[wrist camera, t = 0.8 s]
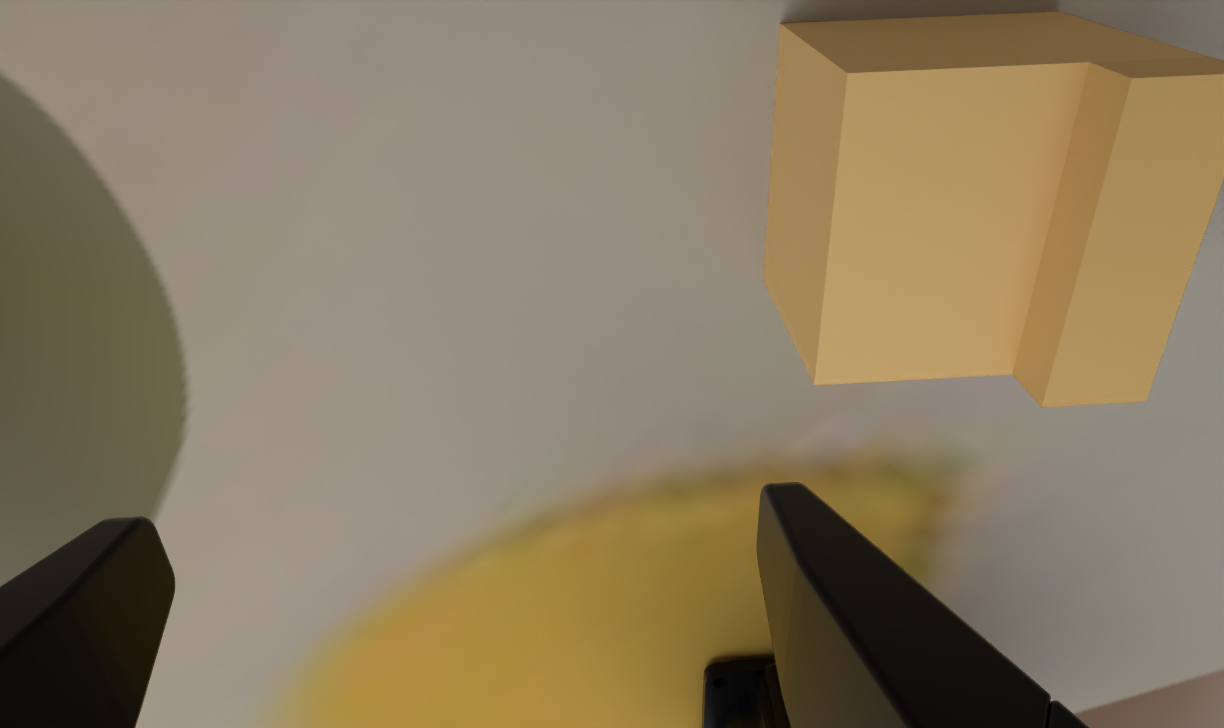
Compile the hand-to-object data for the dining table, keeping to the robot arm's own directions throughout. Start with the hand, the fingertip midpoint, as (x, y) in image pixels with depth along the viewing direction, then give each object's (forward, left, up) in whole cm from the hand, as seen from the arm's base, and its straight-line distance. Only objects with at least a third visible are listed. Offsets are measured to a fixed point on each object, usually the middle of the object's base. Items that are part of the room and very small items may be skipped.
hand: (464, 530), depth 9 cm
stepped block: (0, -9, -12) cm, 15 cm away
